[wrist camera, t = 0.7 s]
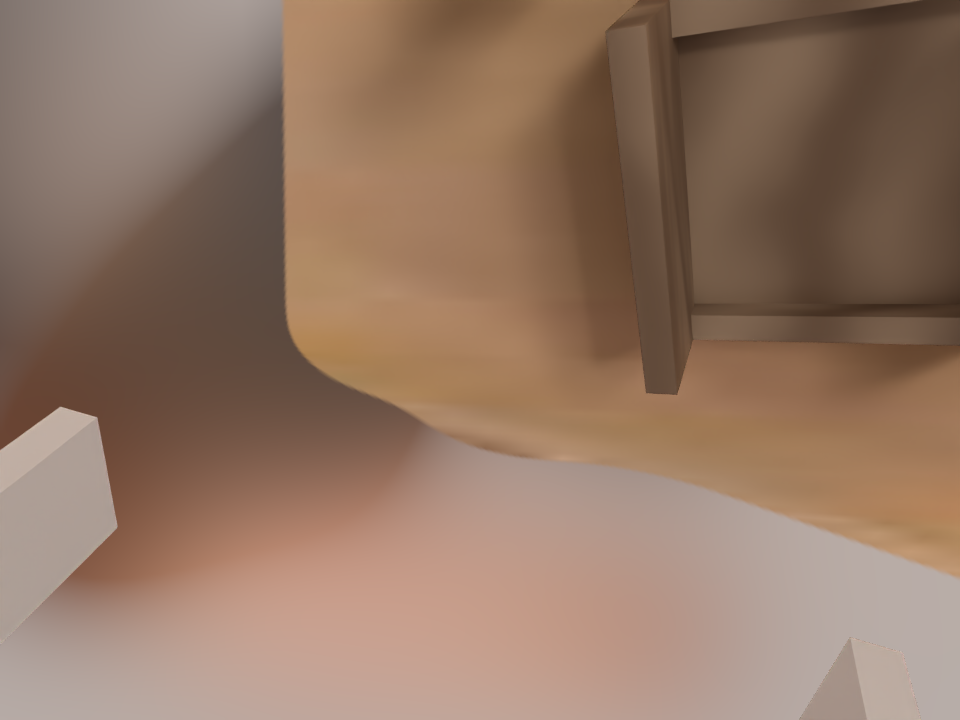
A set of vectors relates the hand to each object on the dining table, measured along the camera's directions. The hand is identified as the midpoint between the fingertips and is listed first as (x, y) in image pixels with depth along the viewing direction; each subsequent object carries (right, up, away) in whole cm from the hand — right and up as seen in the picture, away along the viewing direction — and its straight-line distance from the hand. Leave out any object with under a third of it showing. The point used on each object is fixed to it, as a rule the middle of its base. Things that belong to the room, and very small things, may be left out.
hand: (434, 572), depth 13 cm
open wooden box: (+14, +11, +14) cm, 23 cm away
